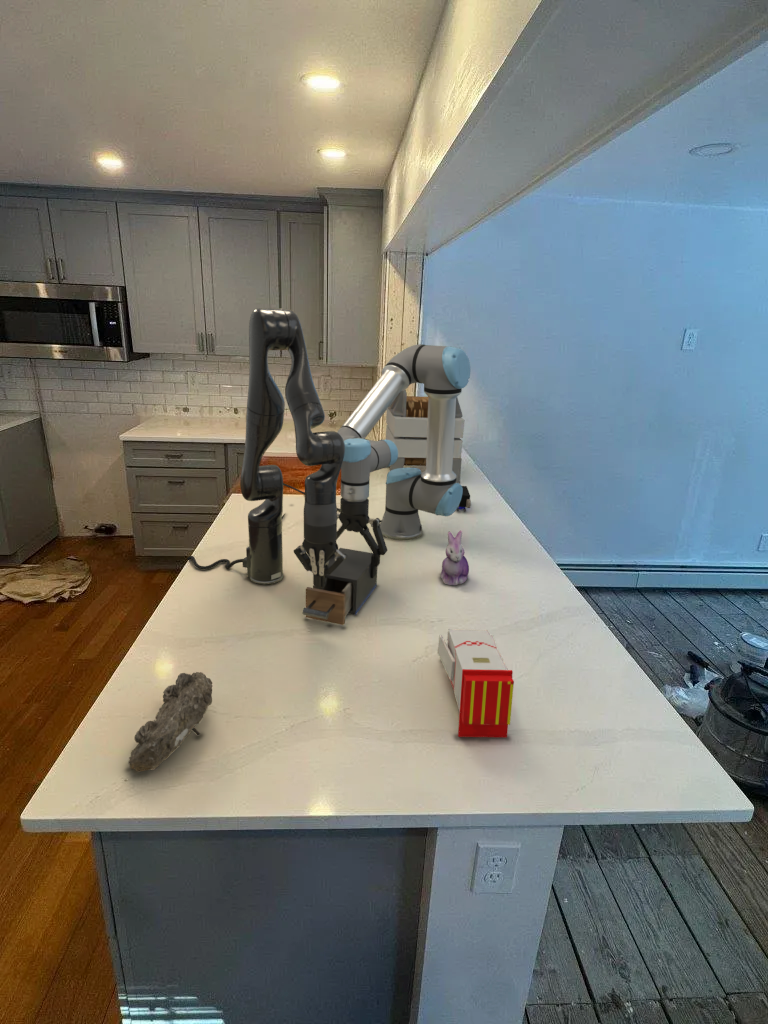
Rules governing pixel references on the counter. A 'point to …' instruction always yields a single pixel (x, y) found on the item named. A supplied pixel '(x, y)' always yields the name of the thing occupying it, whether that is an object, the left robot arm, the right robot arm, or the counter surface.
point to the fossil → (172, 721)
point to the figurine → (454, 561)
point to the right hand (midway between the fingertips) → (352, 572)
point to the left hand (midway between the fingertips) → (320, 587)
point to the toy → (478, 682)
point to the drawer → (329, 601)
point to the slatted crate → (417, 431)
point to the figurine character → (464, 499)
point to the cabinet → (355, 575)
